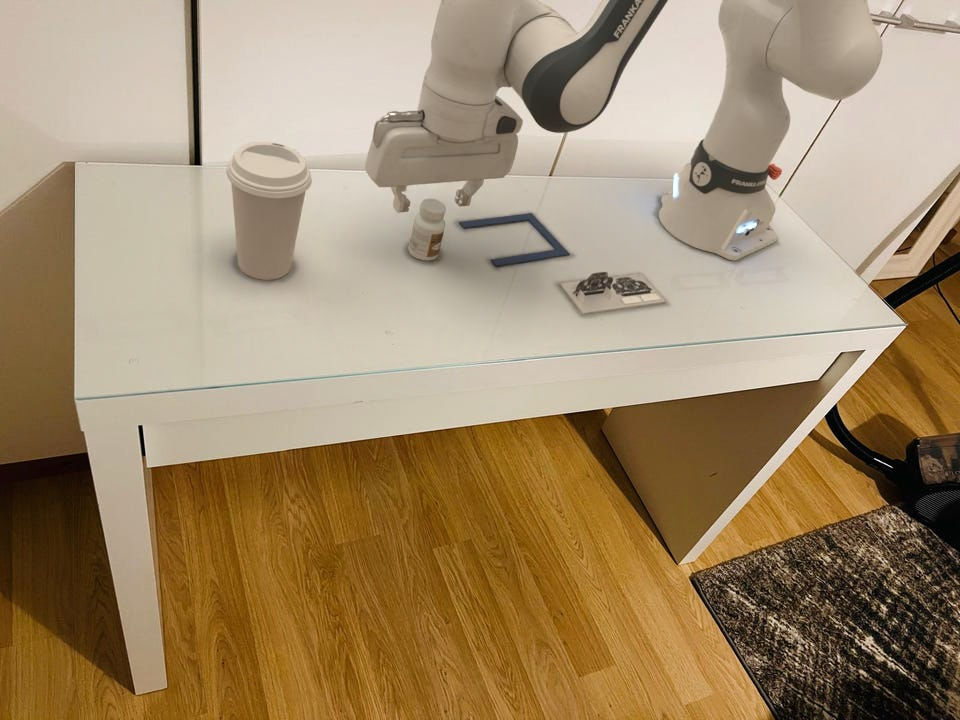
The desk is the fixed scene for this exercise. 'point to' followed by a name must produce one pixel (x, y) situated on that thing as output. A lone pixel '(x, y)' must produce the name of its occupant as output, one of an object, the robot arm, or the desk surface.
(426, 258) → the pill bottle
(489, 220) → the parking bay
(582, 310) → the car cutout
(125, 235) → the desk surface
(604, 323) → the desk surface
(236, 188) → the coffee cup
